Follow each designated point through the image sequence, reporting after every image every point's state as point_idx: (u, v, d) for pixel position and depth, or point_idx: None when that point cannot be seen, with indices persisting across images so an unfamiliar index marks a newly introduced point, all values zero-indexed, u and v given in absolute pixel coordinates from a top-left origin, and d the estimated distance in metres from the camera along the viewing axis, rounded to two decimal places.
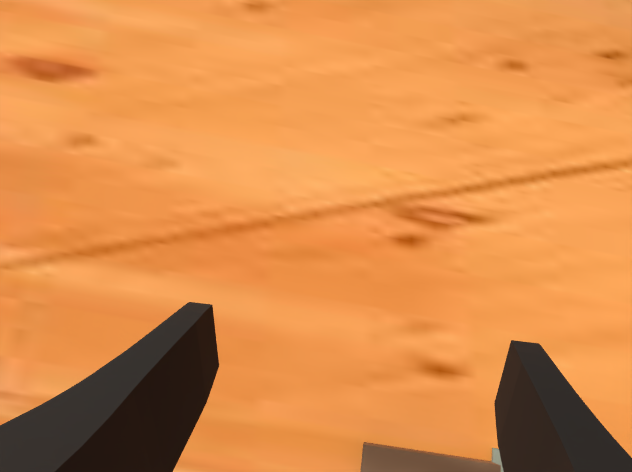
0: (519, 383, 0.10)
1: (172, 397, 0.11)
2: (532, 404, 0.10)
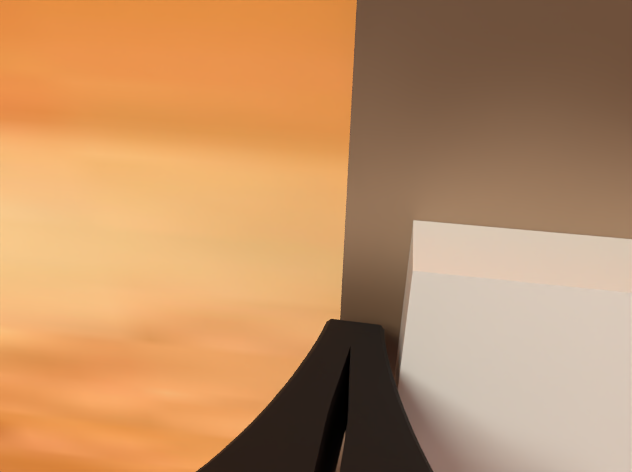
0: (349, 361, 0.11)
1: (337, 421, 0.10)
2: (349, 379, 0.10)
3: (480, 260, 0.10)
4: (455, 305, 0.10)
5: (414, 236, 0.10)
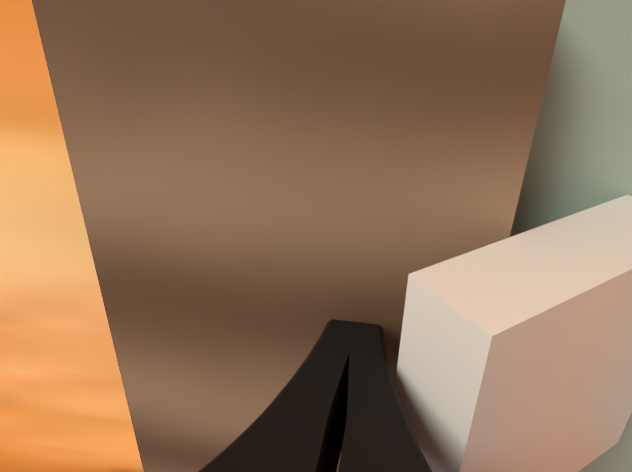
0: None
1: (337, 421, 0.10)
2: None
3: (516, 292, 0.09)
4: (520, 349, 0.09)
5: (436, 293, 0.09)
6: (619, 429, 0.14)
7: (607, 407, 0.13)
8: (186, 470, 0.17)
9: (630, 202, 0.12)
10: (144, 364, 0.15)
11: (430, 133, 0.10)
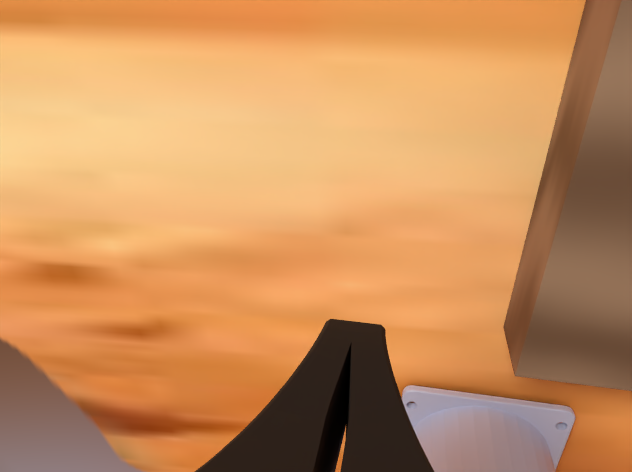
0: (350, 361, 0.11)
1: (336, 421, 0.10)
2: None
3: None
4: None
5: None
6: None
7: None
8: (566, 355, 0.19)
9: None
10: (578, 247, 0.17)
11: None
